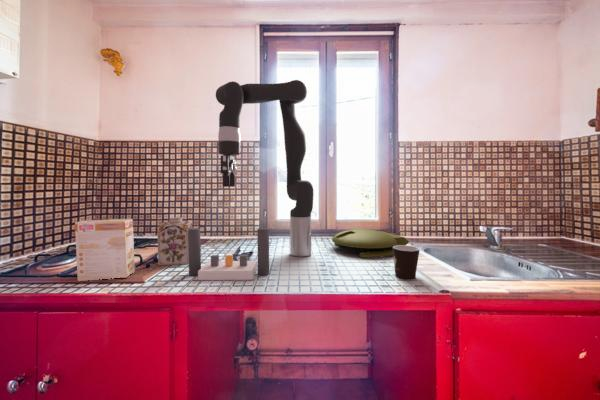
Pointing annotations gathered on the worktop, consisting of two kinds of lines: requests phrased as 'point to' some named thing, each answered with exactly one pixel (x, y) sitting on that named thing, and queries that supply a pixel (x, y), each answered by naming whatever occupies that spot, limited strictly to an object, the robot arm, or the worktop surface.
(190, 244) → the post
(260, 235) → the post
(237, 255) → the sunglasses
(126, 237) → the coffeecake box
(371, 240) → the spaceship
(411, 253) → the coffee mug
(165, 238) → the decorative jar
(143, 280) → the worktop surface
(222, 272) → the switch panel
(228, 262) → the middle paddle
